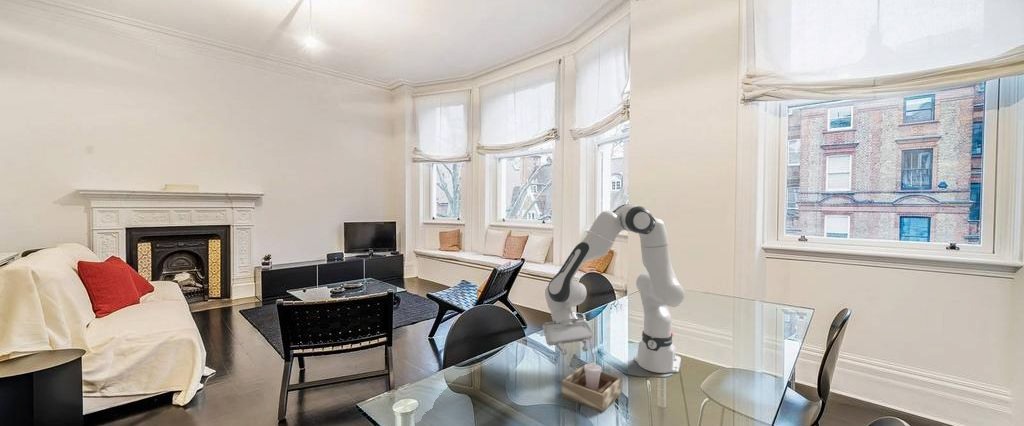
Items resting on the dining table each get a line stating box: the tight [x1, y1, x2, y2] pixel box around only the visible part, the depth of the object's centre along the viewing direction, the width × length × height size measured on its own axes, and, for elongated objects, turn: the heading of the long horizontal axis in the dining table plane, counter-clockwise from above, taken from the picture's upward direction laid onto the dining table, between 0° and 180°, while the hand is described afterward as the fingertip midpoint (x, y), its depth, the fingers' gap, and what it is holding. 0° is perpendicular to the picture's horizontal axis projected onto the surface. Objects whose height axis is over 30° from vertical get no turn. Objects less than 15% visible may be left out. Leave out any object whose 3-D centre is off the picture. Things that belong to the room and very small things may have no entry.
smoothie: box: [583, 354, 603, 391], centre depth 146 cm, size 6×6×14 cm
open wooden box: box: [561, 365, 623, 413], centre depth 146 cm, size 16×16×6 cm
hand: (575, 352), depth 157 cm, fingers open, 8 cm apart
